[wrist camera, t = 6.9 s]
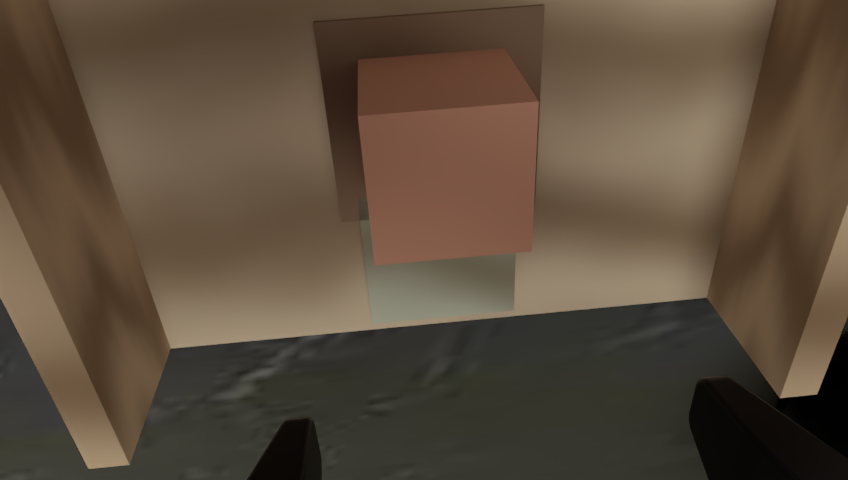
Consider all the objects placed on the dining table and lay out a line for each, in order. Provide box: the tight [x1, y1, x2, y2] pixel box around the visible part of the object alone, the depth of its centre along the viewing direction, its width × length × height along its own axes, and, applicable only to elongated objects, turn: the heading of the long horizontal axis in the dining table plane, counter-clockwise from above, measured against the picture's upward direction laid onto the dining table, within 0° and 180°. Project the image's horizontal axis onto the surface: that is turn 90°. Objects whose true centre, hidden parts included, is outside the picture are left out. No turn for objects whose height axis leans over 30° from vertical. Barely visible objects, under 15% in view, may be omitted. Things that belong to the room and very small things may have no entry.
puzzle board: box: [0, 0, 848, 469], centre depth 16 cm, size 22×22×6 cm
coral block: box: [358, 48, 539, 266], centre depth 18 cm, size 4×4×4 cm
